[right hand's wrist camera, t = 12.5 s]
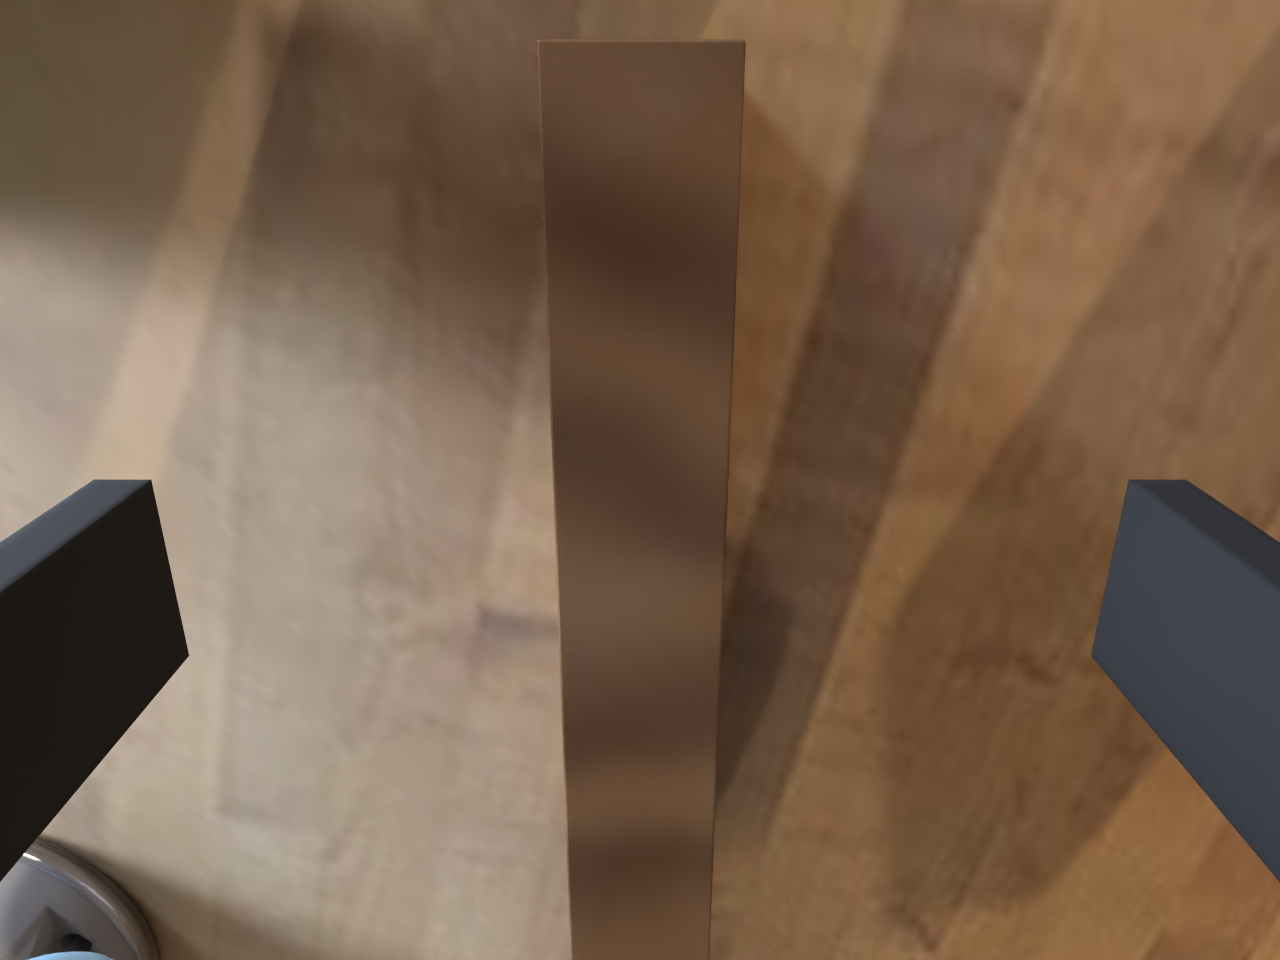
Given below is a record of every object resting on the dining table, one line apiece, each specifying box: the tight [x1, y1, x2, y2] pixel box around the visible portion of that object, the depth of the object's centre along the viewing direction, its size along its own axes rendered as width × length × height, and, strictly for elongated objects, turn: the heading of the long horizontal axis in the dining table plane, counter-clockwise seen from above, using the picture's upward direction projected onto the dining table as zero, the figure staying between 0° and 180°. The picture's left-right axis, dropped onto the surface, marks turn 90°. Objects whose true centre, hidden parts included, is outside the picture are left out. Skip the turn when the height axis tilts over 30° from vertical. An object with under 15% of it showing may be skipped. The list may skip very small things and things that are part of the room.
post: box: [537, 39, 746, 960], centre depth 38 cm, size 67×5×8 cm, turn 0°
